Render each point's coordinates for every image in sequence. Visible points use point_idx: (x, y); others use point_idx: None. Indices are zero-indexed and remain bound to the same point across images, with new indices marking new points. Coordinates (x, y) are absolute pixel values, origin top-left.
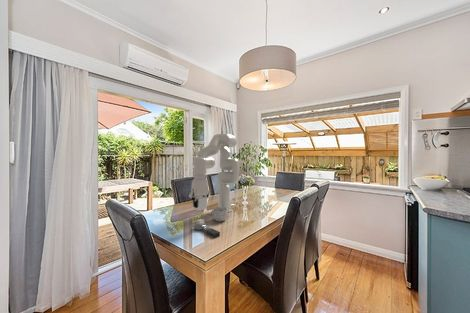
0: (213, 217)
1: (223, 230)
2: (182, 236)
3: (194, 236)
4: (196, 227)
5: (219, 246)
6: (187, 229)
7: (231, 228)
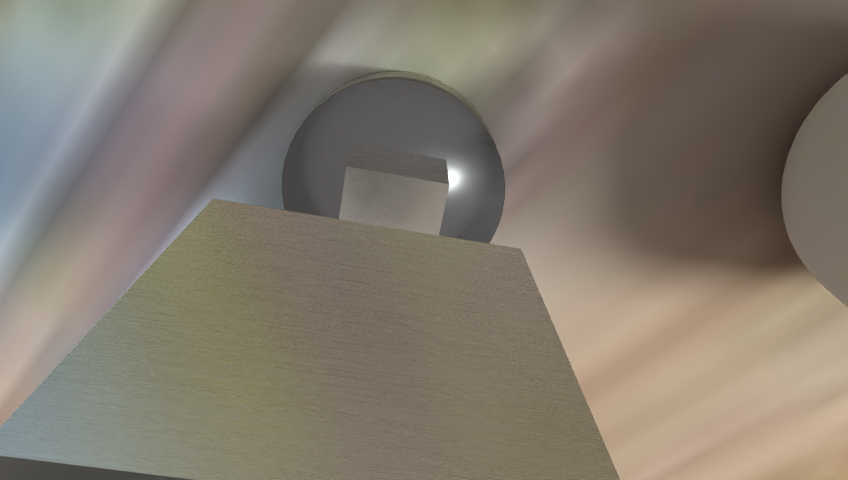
0: (811, 131)
1: None
2: (37, 184)
3: None
4: (288, 206)
5: None
6: (235, 28)
7: (643, 476)
